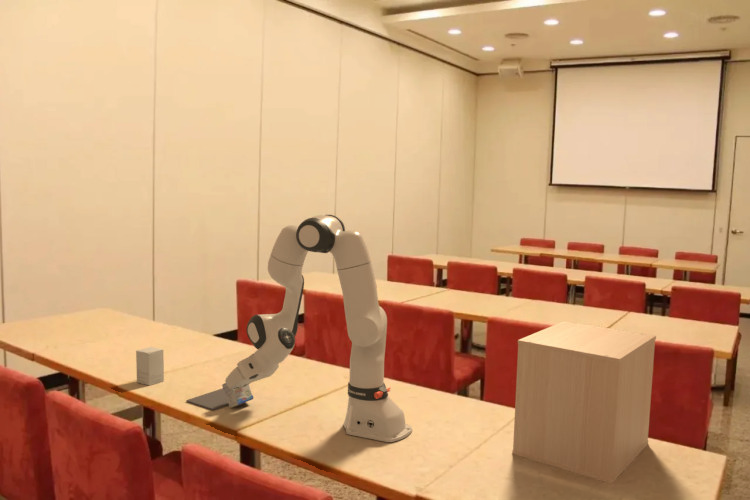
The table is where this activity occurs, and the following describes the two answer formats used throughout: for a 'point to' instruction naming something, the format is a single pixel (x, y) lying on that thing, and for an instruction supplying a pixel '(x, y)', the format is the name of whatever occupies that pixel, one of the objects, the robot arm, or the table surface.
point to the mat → (211, 400)
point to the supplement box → (150, 366)
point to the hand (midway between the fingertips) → (241, 386)
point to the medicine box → (237, 395)
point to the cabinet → (583, 398)
